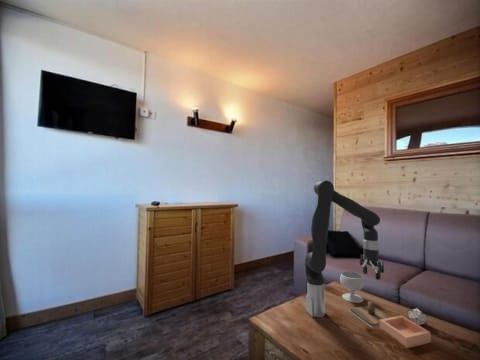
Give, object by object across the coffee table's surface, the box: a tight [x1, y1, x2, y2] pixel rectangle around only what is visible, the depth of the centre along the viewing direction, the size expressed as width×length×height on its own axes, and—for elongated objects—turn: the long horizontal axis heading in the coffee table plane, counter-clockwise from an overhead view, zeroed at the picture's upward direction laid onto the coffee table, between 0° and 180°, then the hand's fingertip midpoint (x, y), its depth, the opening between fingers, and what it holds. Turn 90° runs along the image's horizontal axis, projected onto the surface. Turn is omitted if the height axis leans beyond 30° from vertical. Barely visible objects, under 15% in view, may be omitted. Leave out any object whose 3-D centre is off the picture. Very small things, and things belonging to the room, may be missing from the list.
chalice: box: [339, 270, 365, 304], centre depth 142 cm, size 14×14×15 cm
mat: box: [347, 308, 380, 328], centre depth 123 cm, size 17×17×1 cm
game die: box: [406, 306, 429, 326], centre depth 115 cm, size 9×8×10 cm
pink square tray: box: [379, 315, 432, 349], centre depth 107 cm, size 14×14×4 cm
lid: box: [349, 300, 391, 326], centre depth 123 cm, size 15×15×7 cm
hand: (371, 276), depth 127 cm, fingers open, 8 cm apart
